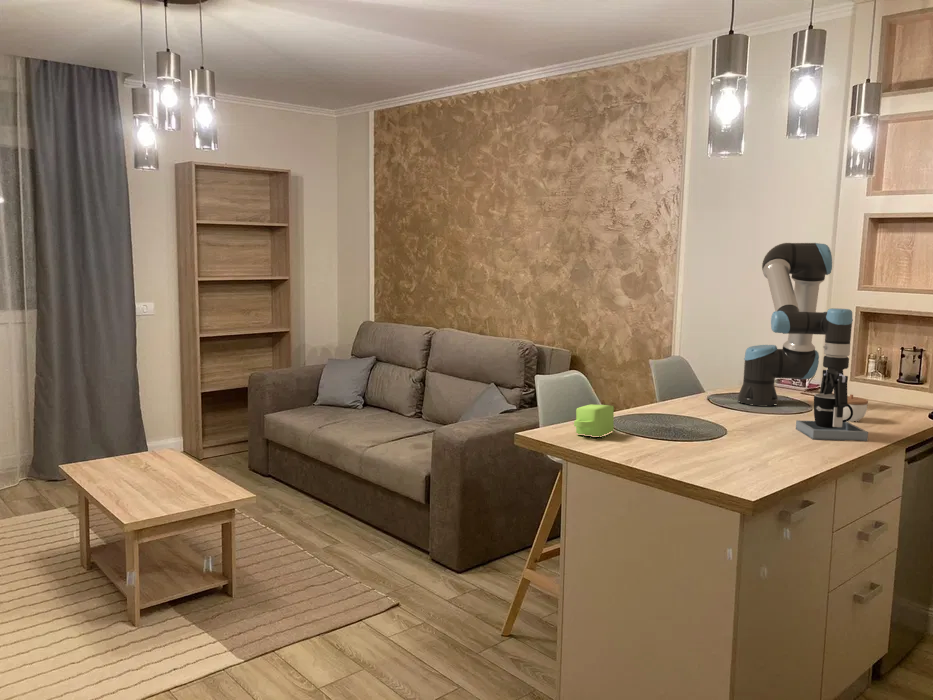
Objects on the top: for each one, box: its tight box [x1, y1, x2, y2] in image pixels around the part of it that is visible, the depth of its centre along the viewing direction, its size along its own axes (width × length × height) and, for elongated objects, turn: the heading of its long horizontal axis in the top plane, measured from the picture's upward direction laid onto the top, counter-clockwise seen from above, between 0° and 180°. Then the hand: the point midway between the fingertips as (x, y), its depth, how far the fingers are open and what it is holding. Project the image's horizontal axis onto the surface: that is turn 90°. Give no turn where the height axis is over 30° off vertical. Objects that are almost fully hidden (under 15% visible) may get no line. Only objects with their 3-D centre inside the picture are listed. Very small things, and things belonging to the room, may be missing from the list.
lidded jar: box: [843, 393, 869, 423], centre depth 271 cm, size 11×11×9 cm
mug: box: [813, 393, 853, 428], centre depth 246 cm, size 12×9×10 cm
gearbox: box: [573, 403, 615, 437], centre depth 244 cm, size 18×10×10 cm, turn 145°
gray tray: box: [795, 419, 869, 442], centre depth 248 cm, size 15×17×3 cm
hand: (831, 423), depth 247 cm, fingers closed on mug, 9 cm apart
